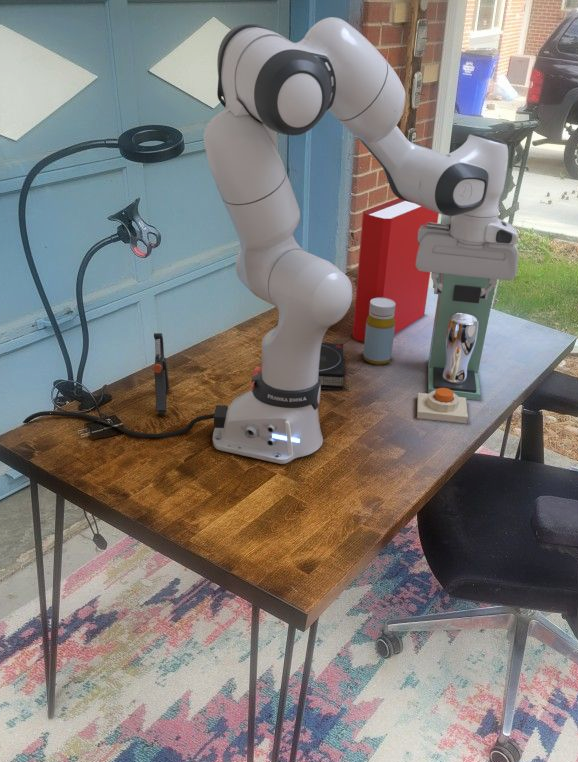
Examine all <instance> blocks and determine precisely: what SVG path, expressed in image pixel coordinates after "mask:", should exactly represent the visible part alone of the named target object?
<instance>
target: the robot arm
mask: <svg viewBox="0 0 578 762" xmlns="http://www.w3.org/2000/svg"><path fill="white" fill-rule="evenodd" d="M216 62H217V65H216V66H217V78H218V79H217V91H216V94H217V99H218V101H219V102H220V104H221V105H222V106H223V107H224V109H223V110H221V111H220V112H218V113H217V114H216V115H214V116H213V117H212V118H211V119H210V121H209V122H208V123H207V125H206V126H205V129H204V133H203V145H204V149H205V154H206V158H207V162H208V166H209V169H210V172H211V174H212V175H211V176H212V178H213V181H214V183H215V186H216V188H217V190H218V193H219V195H220V198H221V200H222V202H223V205H224V207H225V209H226V211H227V213H228V215H229V218H230V220H231V222H232V225H233V227H234V230H235V231H236V235H237V237H238V240H239V246H240V249H239V251H238V253H237V255H236V261H235V273H236V276H237V278H238V280H239V281H240V282H241V284H243V286H244V287H245V288H246V289H247V290H248V291H250V292H251V293H252V294H253V295H254V296H255V297H257V298H258V299H261V300H262V301H264V302H266V303H268V304H270V305H272V306H274V307H275V308H277V310H278V322H277V325H276V327H273V328H271V329H270V330H269V331H268V332H267V333H265V335H264V336H263V338H262V341H261V366H255V367H254V369H253V371H252V377H251V385H250V390H247V391H246V392H244V393H242V394H240V395H238V396H237V397H235V398H234V399H233V400H232V401H231V402H230V404H229V405H226V404H225V405H223V404H216V405H215V409H214V413H209V414H204V415H200V416H197V417H195V418H193V419H191V421H189V423H188V424H187V426H186V427H184V428H181V429H178V430H175V431H171V432H165V433H149V432H148V433H147V432H138V431H134V430H130V429H128V428H126V427H124V426H122V427H123V429H121V428H120V429H117V430H118V431H120V432H122V433H124V434H126V435H129V436H133V437H135V438H136V437H137V438H145V439H163V438H168V437H174V436H179V435H182V434H185V433H187V432H189V431H191V430H192V429H193V427H194V425H195V424H197V423H199V422H203V421H207V420H212V419H213V428H214V429H213V432H212V445H213V447H214V449H216V450H218V451H221V452H226V453H231V454H235V455H239V456H243V457H248V458H252V459H257V460H261V461H266V462H270V463H274V464H280V465H285V464H288V463H290V462H292V461H293V460H295V459H298V458H303V457H306V456H310V455H311V454H313V453H315V452H317V451H318V450H319V449H320V448H322V445H323V443H324V437H323V434H322V430H321V424H320V423H321V422H320V415H319V405H320V402H321V390H322V389H321V385H320V377H319V361H320V350H321V344H322V343H323V340H324V337H325V335H326V333H327V331H328V330H329V328H330V327H332V326H333V325H335V324H337V323H339V322H340V321H341V320H342V319H343V318H344V317H345V316H346V314H347V313H348V311H349V309H350V307H351V304H352V300H353V285H352V282H351V280H350V278H349V276H347V275H346V274H345V273H344V272H343V271H342V270H341V269H340V268H338V267H337V266H336V265H334V264H333V263H332V262H330V261H329V260H327V259H324V258H322V257H320V256H318V255H315V254H313V253H311V252H308V251H307V250H305V249H303V248H302V247H301V246H300V245H299V244H298V242H297V241H296V238H295V236H294V232H295V230H297V228H298V225H299V223H300V219H301V208H300V206H299V204H298V201H297V197H296V195H295V192H294V190H293V187H292V184H291V181H290V178H289V176H288V173H287V170H286V168H285V165H284V162H283V160H282V158H281V155H280V153H279V146H278V134H281V135H285V136H301V135H303V134H304V133H307V132H308V131H310V130H312V129H313V128H314V127H315V126H316V125H317V124H318V123H319V122H321V120H322V118H323V117H324V116H325V114H326V112H327V111H328V112H329V113H330V114H331V115H332V116H333V117H334V119H336V120H337V121H338V122H339V123H340V124H341V125H342V126H343V127H344V128H345V129H346V130H347V131H349V133H351V134H352V135H354V137H356V138H357V139H358V140H359V141H360V142H361V143H362V144H363V146H364V147H365V148H366V150H368V151H369V152H370V154H371V155H372V157H374V159H375V160H376V161H377V162H378V163H379V165H380V166H381V168H382V169H383V171H384V173H385V176H386V178H387V182H388V185H389V187H390V189H391V191H392V194H394V196H395V197H397V199H398V198H399V199H401V200H404V201H407V202H411V203H415V204H417V205H420V206H422V207H424V208H427V209H429V210H432V211H434V212H437V213H439V215H441V216H442V215H443V216H448V217H451V218H450V223H444V222H443V223H441V222H440V223H438V222H437V223H433V222H427V224H424V225H422V226H421V227H420V228H419V230H418V237H417V240H418V243H419V248H418V252H417V256H416V263H415V265H416V267H417V269H418V270H419V271H425V272H430V277H431V280H432V283H433V285H434V289H433V295H438V294H440V295H441V293H442V284H440V283H439V281H438V279H439V276H440V274H441V273H443V274H452V275H461V276H470V277H479V278H489V284H488V285H487V287H486V288H485V289H484V288H481V293H480V299H484V300H487V298H488V293H489V292H490V291H491V290H492V288H493V287H494V286H495V287H496V286H497V282H498V280H500V281H508V282H511V281H513V280H514V279H515V278H516V276H517V273H518V268H519V249H518V246H517V242H518V238H519V233H518V230H517V228H516V226H514V225H513V224H512V223H509V222H507V221H505V220H502V219H501V218H499V214H500V207H499V206H500V200H501V196H502V194H503V193H504V189H505V183H506V179H507V171H508V165H509V149H508V148H509V147H508V145H507V143H506V142H505V141H504V140H502V139H500V138H496V137H493V136H489V135H487V134H484V133H483V134H482V133H478V132H474V133H469V135H468V136H467V139H466V141H465V142H463V144H462V145H461V146H460V147H458V148H456V149H455V150H453V151H452V152H449V153H447V154H445V153H443V152H439V151H437V150H433V149H430V148H429V147H426V146H425V145H422V144H419V143H417V142H413V141H409V140H408V138H407V137H406V136H405V135H404V133H403V132H402V130H401V129H400V128H399V126H398V124H399V123H400V120H401V119H402V117H403V114H404V110H405V106H406V98H407V96H406V95H407V94H406V93H407V92H406V90H405V87H404V85H403V83H402V81H401V79H400V77H399V75H398V74H397V73H396V71H395V70H394V68H393V67H392V65H391V64H390V63H389V62H388V60H386V58H385V57H384V56H383V54H382V53H380V51H379V50H378V49H377V48H376V47H375V46H374V44H372V42H370V41H369V39H367V38H366V37H365V36H364V34H362V33H361V32H360V31H358V30H357V29H356V28H355V27H354V26H352V25H351V24H349V23H348V22H347V21H346V20H343V19H342V18H339V17H336V16H335V17H333V16H330V17H325V18H323V19H321V20H318V21H317V22H316V23H315V24H313V25H312V26H311V27H310V28H309V30H308V31H307V32H306V34H305V35H304V37H303V38H302V39H301V40H299V41H297V42H293V41H291V40H290V39H288V38H287V37H285V36H283V35H282V34H279V33H277V32H275V31H273V30H271V29H270V28H269V27H267V26H264V25H261V24H257V23H256V24H255V23H244V24H241V25H238V26H235V27H233V28H232V29H230V30H229V31H228V32H227V33H226V34H225V35H224V37H223V39H222V40H221V42H220V44H219V48H218V52H217V61H216ZM425 226H427V228H426V227H425ZM50 413H51V414H50ZM47 416H49V417H50V416H53V417H54V416H55V417H73V418H82V419H87V420H90V421H94V422H97V420H99V418H100V417H98V416H95V415H91V414H87V413H82V412H75V411H57V410H43V411H38V412H34V413H32V414H30V415H28V416H27V417H26V418H25V419H24V420H23V421H22V424H29V423H30V422H32V421H33V420H35V419H37V418H39V417H47Z"/></svg>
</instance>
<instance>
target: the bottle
mask: <svg viewBox="0 0 578 762" xmlns="http://www.w3.org/2000/svg"><path fill="white" fill-rule="evenodd" d="M395 305H396V304H395V302H394V301H393V300H391V299H387V298H374V299H372V300H371V301H370V307H369V315H368V318H367V321H366V331H365V342H363V343H364V344H363V353H362V354H363V359H364V360H365V362H366V363H368V364H371V365H375V366H383V365H386V364H388V363H389V362H390V361H391V359H392V354H393V345H394V336H395V334H394V329H395V319H394V312H395Z"/></svg>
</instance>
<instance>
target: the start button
mask: <svg viewBox="0 0 578 762" xmlns="http://www.w3.org/2000/svg"><path fill="white" fill-rule="evenodd" d="M453 394H454V393H453V391H452V390H450V389H447V388H438V389H437V390H436V392H435V399H436V400H437V401H440V402H445V403H447V402H451V401H452V399H453Z"/></svg>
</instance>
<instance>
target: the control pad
mask: <svg viewBox="0 0 578 762" xmlns="http://www.w3.org/2000/svg"><path fill="white" fill-rule="evenodd" d="M435 392H436V391H432V392H430V393H429V394H428V392H427V393H426V392H418V393H417V401H416V402H417V403H416V419H422V420H429V421H438V422H439V421H440V422H449V423H458V424H459V423H460V424H467V423H468V418H469V415H468V405H467V404H468V403H467V399H466V398H465V397H458V396H457V395H456V394H455V393H454V394H453V399H452V401H451V402H447V403H445V402H440V401H437V400H436V399H435Z"/></svg>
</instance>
